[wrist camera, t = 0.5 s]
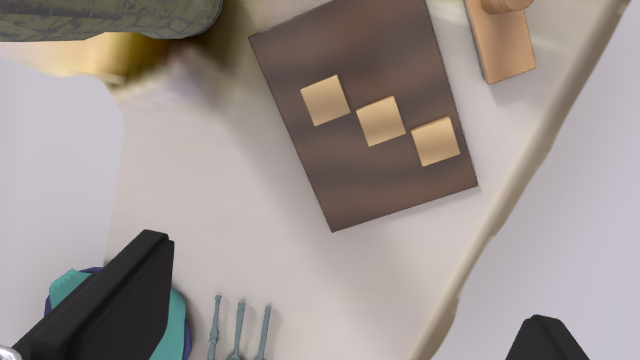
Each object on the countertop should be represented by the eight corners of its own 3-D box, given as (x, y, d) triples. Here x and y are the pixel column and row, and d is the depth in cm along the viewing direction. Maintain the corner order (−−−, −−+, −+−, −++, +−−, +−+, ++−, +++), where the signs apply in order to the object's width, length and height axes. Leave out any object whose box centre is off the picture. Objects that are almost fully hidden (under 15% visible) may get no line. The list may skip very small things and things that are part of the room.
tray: (250, 37, 41) (247, 37, 40) (412, -34, 37) (414, -36, 36) (332, 229, 47) (331, 233, 47) (476, 182, 44) (478, 185, 43)
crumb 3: (409, 129, 42) (411, 131, 41) (447, 116, 41) (449, 117, 40) (421, 164, 43) (422, 166, 42) (458, 151, 42) (460, 154, 41)
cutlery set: (49, 246, 51) (35, 255, 49) (279, 291, 51) (276, 303, 49) (57, 364, 58) (46, 377, 56) (260, 404, 58) (256, 419, 56)
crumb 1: (300, 88, 41) (299, 90, 40) (337, 74, 40) (336, 75, 39) (315, 124, 42) (314, 126, 41) (351, 111, 42) (351, 112, 41)
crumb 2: (355, 109, 41) (355, 111, 40) (392, 95, 41) (393, 96, 40) (368, 144, 43) (369, 147, 42) (405, 131, 42) (406, 133, 41)
